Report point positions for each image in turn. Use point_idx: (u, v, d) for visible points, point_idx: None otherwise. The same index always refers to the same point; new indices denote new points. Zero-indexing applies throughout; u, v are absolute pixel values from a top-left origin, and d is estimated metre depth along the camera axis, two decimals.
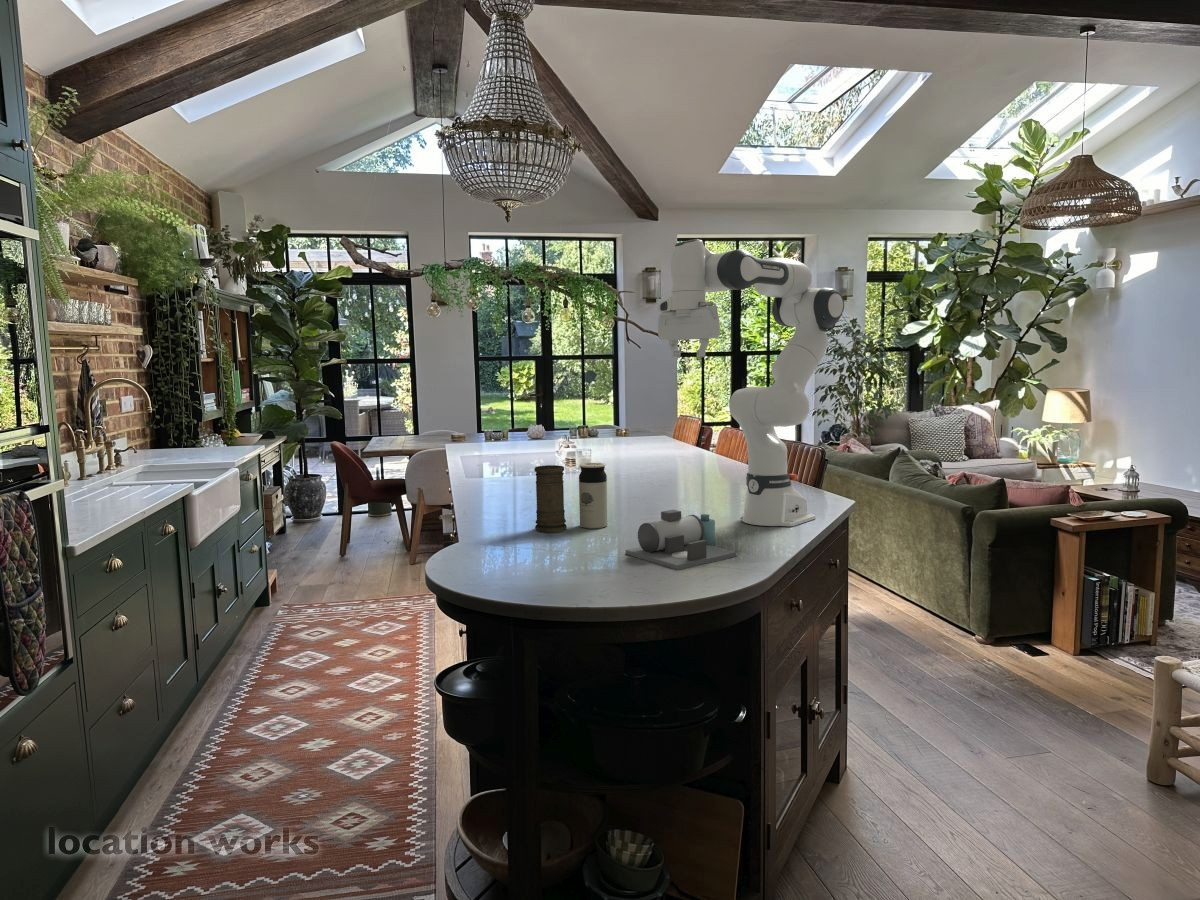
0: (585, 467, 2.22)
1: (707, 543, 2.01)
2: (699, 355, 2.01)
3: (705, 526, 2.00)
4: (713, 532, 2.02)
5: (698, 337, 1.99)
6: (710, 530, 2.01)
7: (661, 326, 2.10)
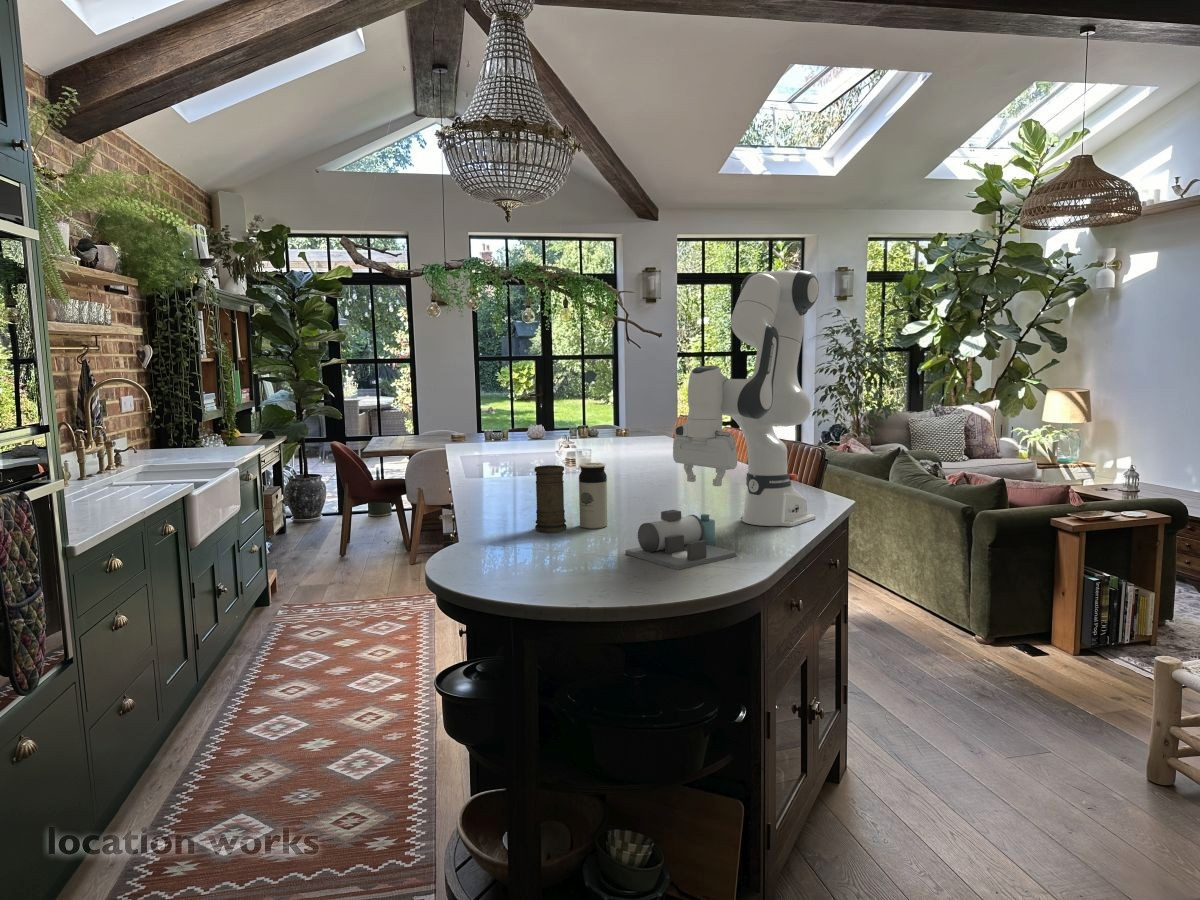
0: (585, 467, 2.22)
1: (707, 543, 2.01)
2: (715, 484, 1.97)
3: (705, 526, 2.00)
4: (713, 532, 2.02)
5: (715, 467, 1.95)
6: (710, 530, 2.01)
7: (676, 449, 2.06)
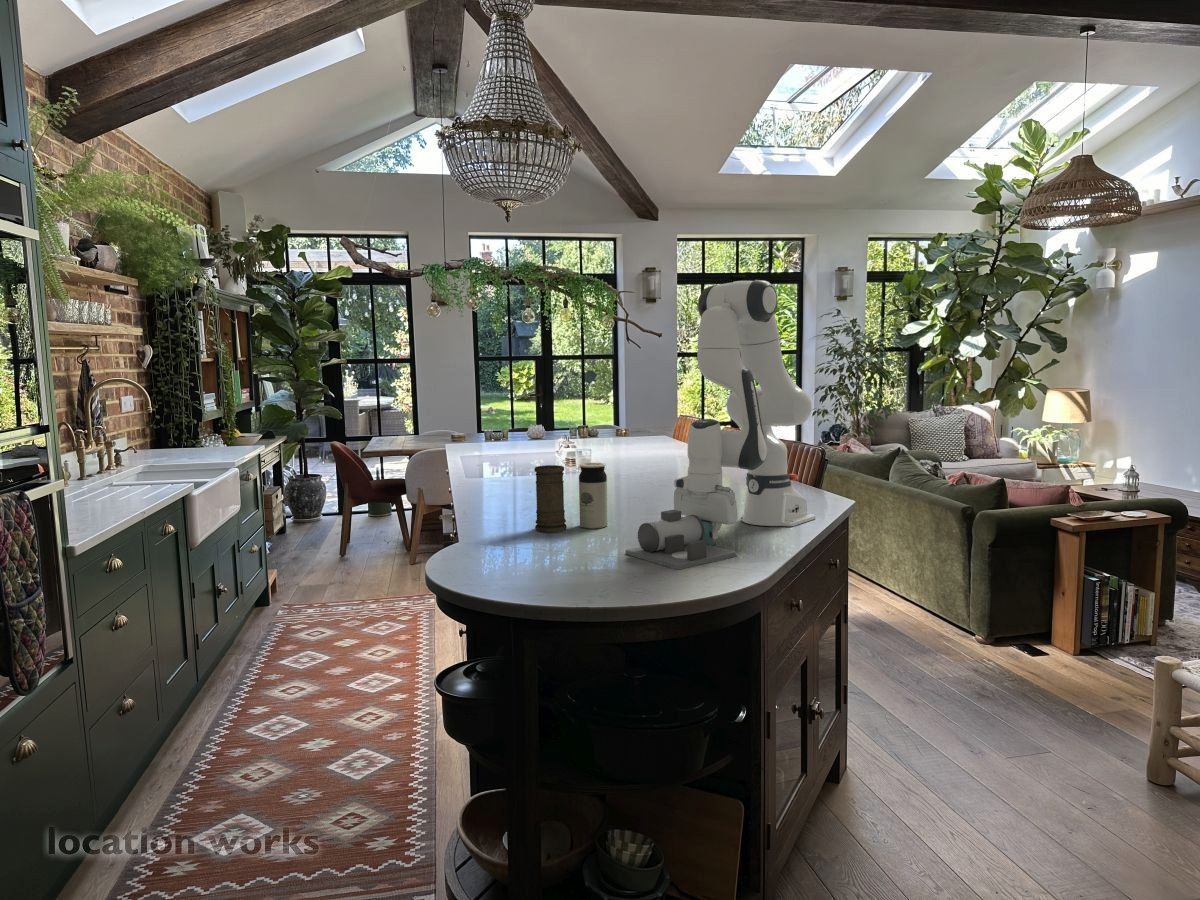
0: (585, 467, 2.22)
1: (707, 543, 2.01)
2: (712, 537, 2.00)
3: (705, 526, 2.00)
4: None
5: (715, 521, 1.97)
6: (710, 530, 2.01)
7: (677, 501, 2.08)
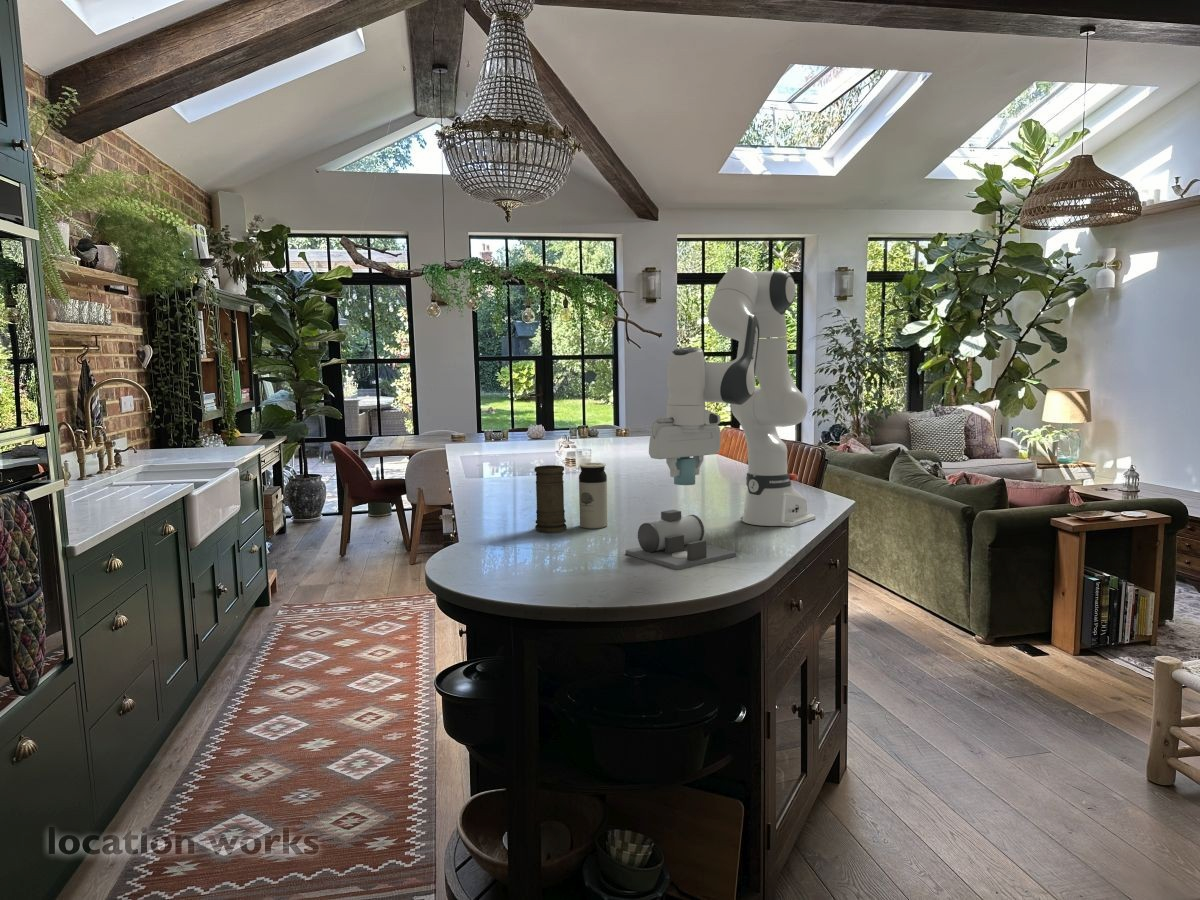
0: (585, 467, 2.22)
1: (674, 481, 1.85)
2: None
3: None
4: None
5: None
6: None
7: None
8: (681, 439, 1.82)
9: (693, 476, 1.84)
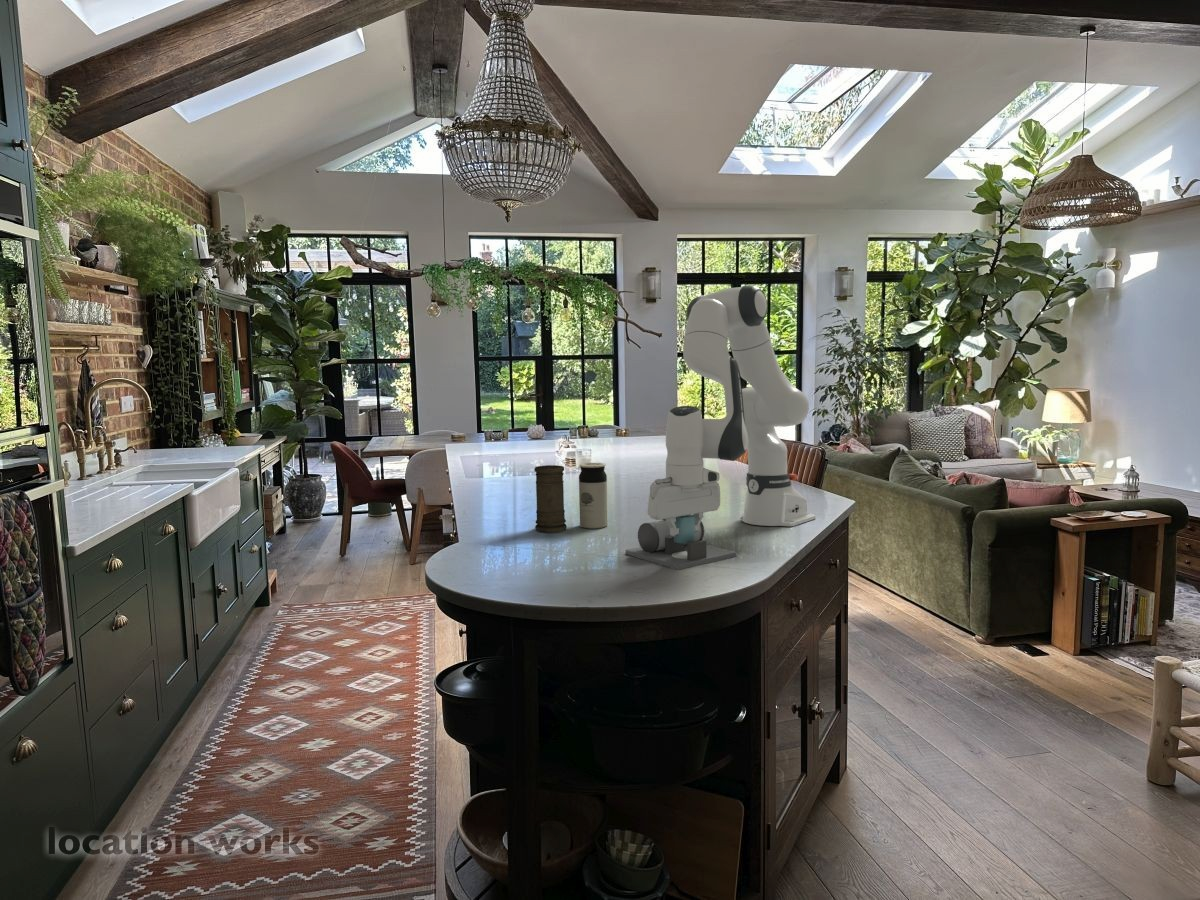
0: (585, 467, 2.22)
1: None
2: None
3: None
4: (679, 529, 1.85)
5: None
6: None
7: None
8: (680, 498, 1.83)
9: (692, 534, 1.85)
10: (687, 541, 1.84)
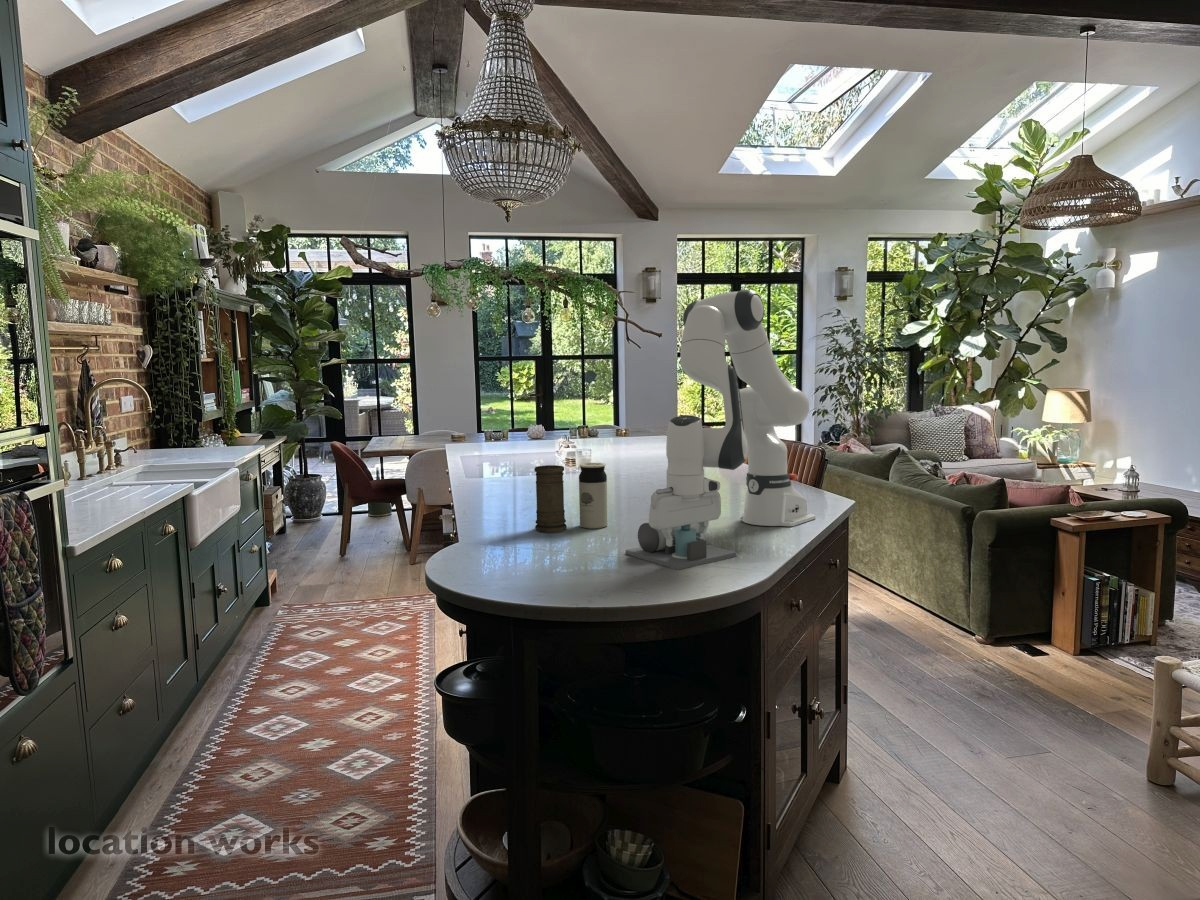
0: (585, 467, 2.22)
1: (675, 552, 1.87)
2: None
3: (675, 533, 1.87)
4: (680, 543, 1.85)
5: None
6: (676, 539, 1.86)
7: None
8: (681, 508, 1.83)
9: None
10: None
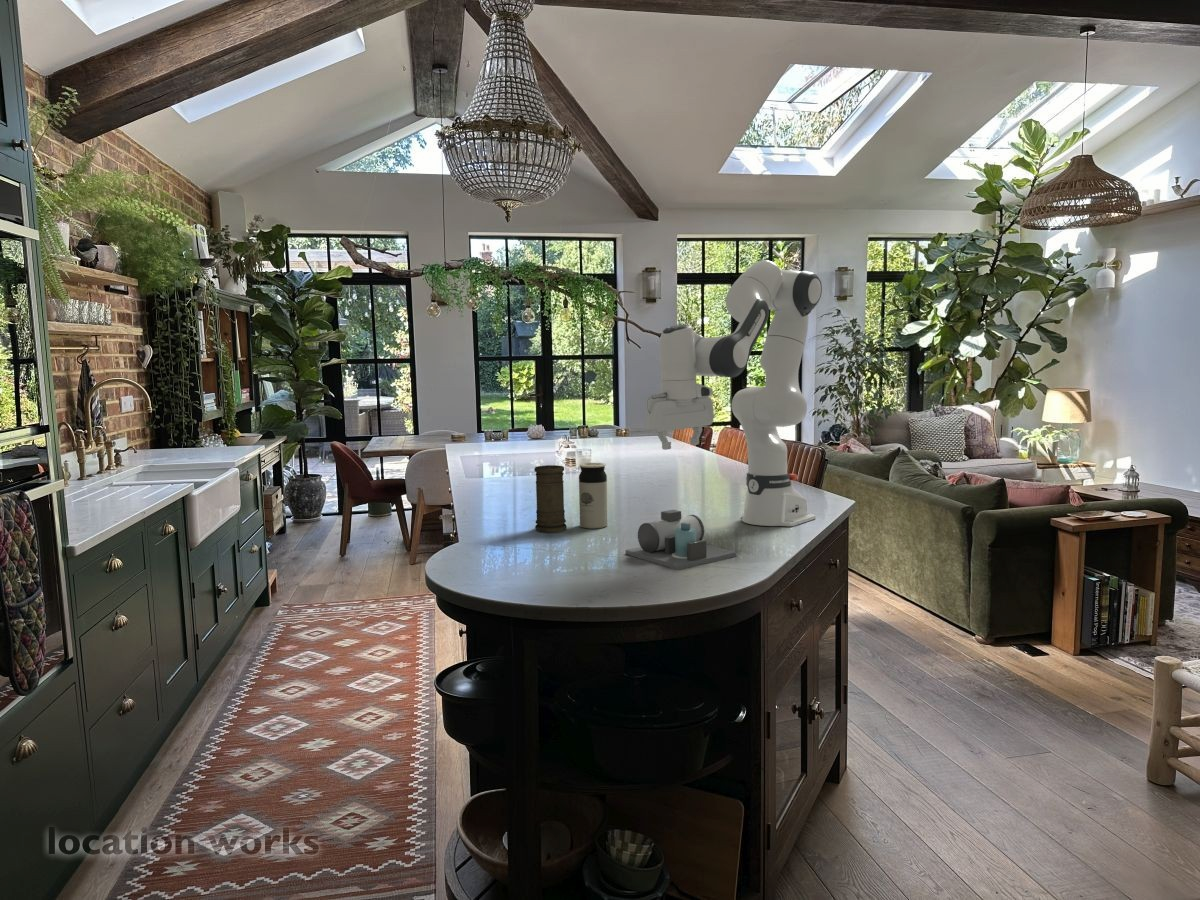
0: (585, 467, 2.22)
1: (675, 552, 1.87)
2: None
3: (675, 533, 1.87)
4: (680, 543, 1.85)
5: None
6: (676, 539, 1.86)
7: None
8: (675, 412, 1.92)
9: None
10: None
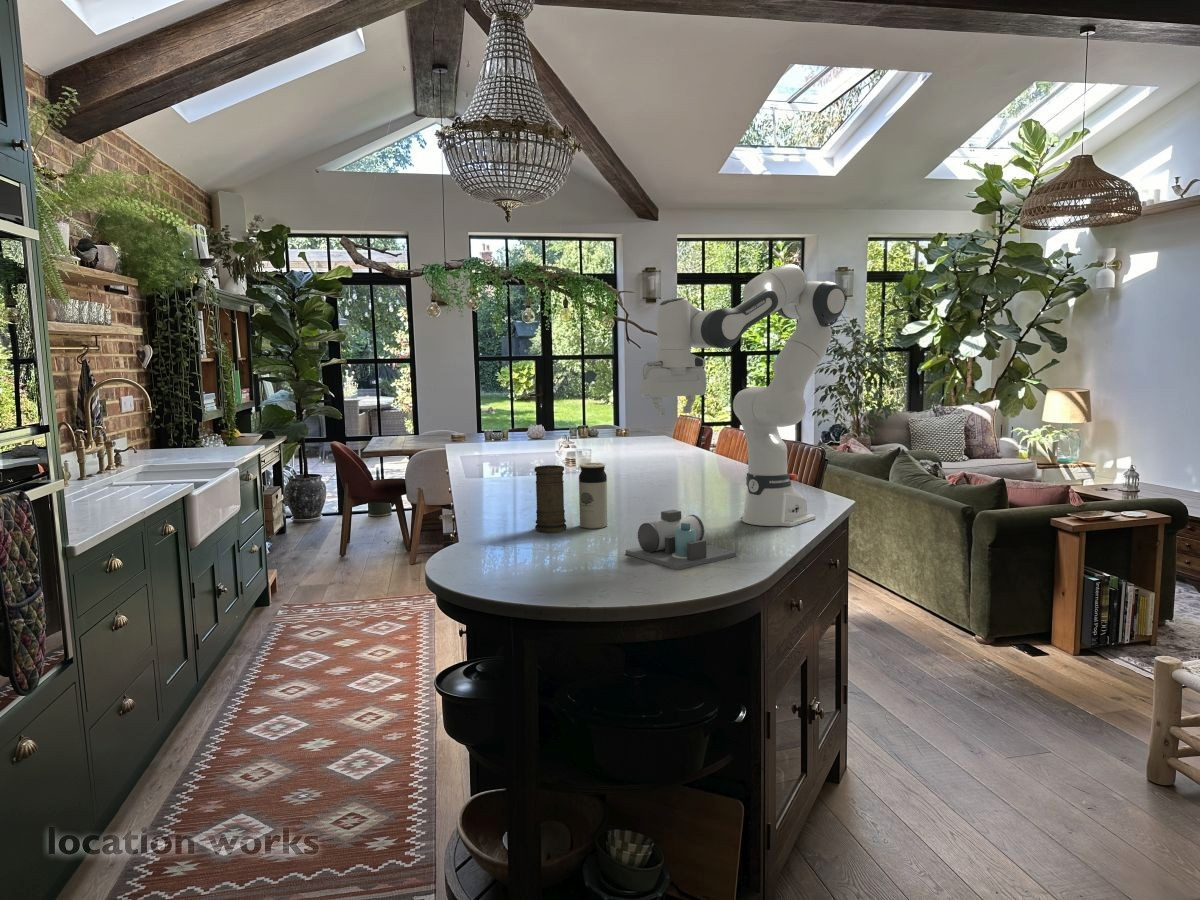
0: (585, 467, 2.22)
1: (675, 552, 1.87)
2: None
3: (675, 533, 1.87)
4: (680, 543, 1.85)
5: None
6: (676, 539, 1.86)
7: None
8: (669, 380, 2.03)
9: None
10: None
